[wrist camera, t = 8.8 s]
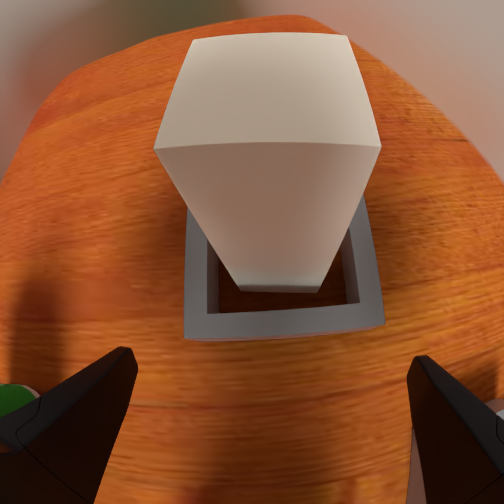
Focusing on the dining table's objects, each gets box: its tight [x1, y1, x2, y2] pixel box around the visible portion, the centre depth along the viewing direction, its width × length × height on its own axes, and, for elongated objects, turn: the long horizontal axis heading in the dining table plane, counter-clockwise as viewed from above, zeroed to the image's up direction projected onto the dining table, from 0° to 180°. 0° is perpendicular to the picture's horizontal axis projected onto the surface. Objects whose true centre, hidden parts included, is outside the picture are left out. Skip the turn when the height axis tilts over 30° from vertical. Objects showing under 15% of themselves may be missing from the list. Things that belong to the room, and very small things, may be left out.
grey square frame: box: [184, 195, 385, 342], centre depth 17 cm, size 10×10×3 cm
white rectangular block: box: [153, 33, 381, 293], centre depth 12 cm, size 4×4×13 cm
